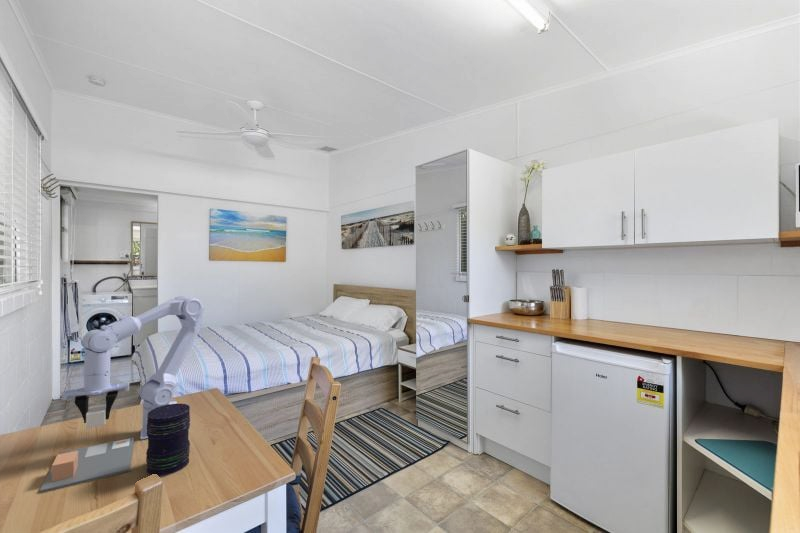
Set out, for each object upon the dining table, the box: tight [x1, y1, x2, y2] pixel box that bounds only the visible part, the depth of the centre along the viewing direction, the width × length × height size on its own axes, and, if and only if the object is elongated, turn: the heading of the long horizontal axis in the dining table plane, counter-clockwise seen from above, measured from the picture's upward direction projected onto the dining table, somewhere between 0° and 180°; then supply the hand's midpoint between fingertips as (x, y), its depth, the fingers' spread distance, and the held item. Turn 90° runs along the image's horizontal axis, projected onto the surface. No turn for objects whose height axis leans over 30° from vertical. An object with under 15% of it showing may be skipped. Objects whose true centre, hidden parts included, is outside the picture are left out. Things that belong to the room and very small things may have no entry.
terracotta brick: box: [51, 451, 78, 482], centre depth 92 cm, size 4×6×4 cm, turn 34°
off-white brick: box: [85, 403, 108, 430], centre depth 103 cm, size 4×6×4 cm, turn 34°
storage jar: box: [145, 403, 191, 477], centre depth 97 cm, size 10×10×15 cm
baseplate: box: [39, 436, 135, 494], centre depth 98 cm, size 17×20×1 cm
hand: (97, 419), depth 103 cm, fingers closed on off-white brick, 4 cm apart
